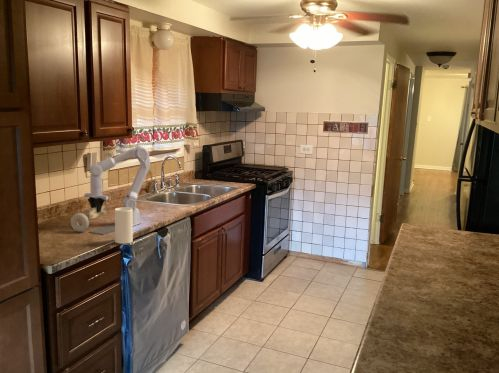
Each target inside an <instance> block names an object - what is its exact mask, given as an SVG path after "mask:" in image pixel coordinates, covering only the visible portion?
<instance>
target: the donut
mask: <svg viewBox="0 0 499 373" xmlns="http://www.w3.org/2000/svg"><path fill="white" fill-rule="evenodd" d="M79 220H80V221H81V225H80V223H79V222H78V221H79ZM89 220H90V219H88V218H87V216H86V214H84V213H82V212H77V213H74V214H73V215H72V217H71V218H70V225H71V227H72V229H73V230H74V231H76V232H78V233H83V232H85V231H87V230H88V228H89V226H90V221H89Z"/></svg>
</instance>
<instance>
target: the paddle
mask: <svg viewBox="0 0 499 373" xmlns="http://www.w3.org/2000/svg"><path fill="white" fill-rule="evenodd" d="M85 215H86V216H87V218H88V220H91V219H96V218H98V217H99V218H100V217H103V216H105V215H108V204H103V205H102V208H101V212H97V206H96V207H93V208H92V207H89V208H86V209H85Z"/></svg>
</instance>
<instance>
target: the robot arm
mask: <svg viewBox="0 0 499 373" xmlns="http://www.w3.org/2000/svg"><path fill="white" fill-rule="evenodd" d="M129 158H134V159H135V158H136V159H137V160H138V162H139V164H140V166H139V167H138V170H137V173H136V174H135V177H134V178H133V181H132V184H131V186H130V188H129V191H128V192H127V193H126V195H125V196H124V197H123V198H122V205H123V207H127V208H132V209H133V227H134V226H136V225H137V226H138V225H140V224H142V222H141V220H140V219H141V218H140V217H141V213H140V209H139V208H137V200H138V196H139V193H140V191H141V189H142V186H143V183H144V181H145V179H146V177H147V174H148V172H149V170H150V167H151V160H150V153H149V151H148V150H147V148H145V147H142V146H139V145H138V146H135V147H132V148H130V149H128V150H126V151H124V152H122V153H120V154H118V155H117V156H114V157H110V156H109V157H104V159H102V160H100V161H97V162H96V163H94V164H91V165H90V167H89V172H90V179H89V181H90V183H89V184H90V193H89V192H87V193H84V195H83V196H84V198H87V201H88V203H89V205H90V208H93V207H97V212H101V208H102V205H104V203H105V201H106V200H109V195H106V194H103V184H102V183H103V182H102V181H103V179H102V175H103V173H105V172H107V171H109V170H111V169H113V168H114V167H115V166H116V164H118V163H119V162H120V163H121V162H123V161H125V160H126V159H129Z"/></svg>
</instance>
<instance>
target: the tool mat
mask: <svg viewBox="0 0 499 373" xmlns="http://www.w3.org/2000/svg"><path fill="white" fill-rule="evenodd" d="M88 233H89V234H95V235H102V236H104V235H107V234H110V233H115V224H109V225H107V226H104V227H103V226H102V227H100V228H97V229H93V230H90V231H89V232H88Z"/></svg>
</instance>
